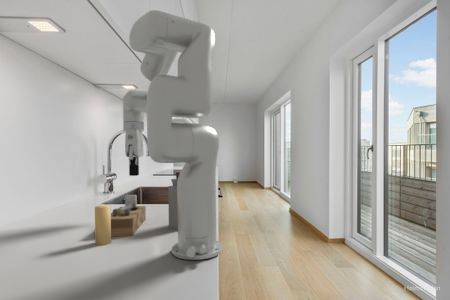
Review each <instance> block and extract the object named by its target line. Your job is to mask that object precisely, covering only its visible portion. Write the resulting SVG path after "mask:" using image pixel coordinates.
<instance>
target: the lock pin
mask: <svg viewBox="0 0 450 300" xmlns="http://www.w3.org/2000/svg"><path fill="white" fill-rule="evenodd" d="M137 198H138V196H137V194H125V195H124V199H125V201H124V202H125V203H124V204H125V205H124V206H121V207H122V208H121V209H120V214H125V209H126V208H130V210H131V209H132V208H136V207H137V206H138V205H137V204H138V203H137V202H138V200H137Z"/></svg>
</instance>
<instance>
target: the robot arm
mask: <svg viewBox="0 0 450 300" xmlns="http://www.w3.org/2000/svg"><path fill="white" fill-rule="evenodd" d="M128 37H129V38H128V41H129V45H130V48H131V50H132V51H134V52H136V53H137V52H139V53H142V54H144V57H143V58H142V62H141V64H140V72H141V74H142V75H143V76H144V78H146V79H147V80H148V81H149V82H150V83H149V86H148V89H147V91H146V90H135V89H130V90H128V91H127V92H126V93H125V95H124V96H123V98H122V117H123V119H122V121H123V122H122V126H123V127H122V129H123V132H125V138H124V139H125V140H124V142H125V143H124V146H125V147H124V148H125V149H124V150H125V151H124V153H125V154H124V155H125V157H127V158H128V163H129V164H128V165H129V166H128V167H129V168H128V169H129V171H128V175H129V176H130V177H132V176H133V177H135V176H139V175H140V169H139V168H140V164H139V163H140V162H139V161H140V158H142V157H144V136H143V132H145V113H146V135H147V136H146V140H147V141H146V143H147V144H146V145H147V151H148V155H149V157H150V159H151V160H152V161H153V162H155V163H159V164H176V163H177V164H179V163H180V164H181V163H183V164H184V165H183V167H182V169H181V170H180V171H179V172H180V174H179V177H178V181H177V205H178V228H177V242H176V243H175V244H173V245H172V247H171V254H172V255H173V257H176V258H179V259H182V260H185V261H186V260H188V261H200V260H207V259H211V258H215V257H217V256H219V255H220V254H222V252H223V250H224V247H223V244H222V242H220V241H218V240H217V198H216V197H217V195H216V192H217V191H216V190H217V189H216V187H217V185H216V184H217V183H216V181H217V180H216V179H217V178H216V175H217V171H216V170H217V160H218V155H219V148H220V138H219V135H218V133H217V131H216V130H215V129H214V128H213V127H211V126H209V125H207V124H204V123H203V124H202V123H195V122H194V123H190V122H173V118H184V119H202V118H205V117H208V116H209V114H210V113H211V111H212V107H213V71H212V70H213V69H212V65H213V63H212V62H213V57H214V52H215V47H216V38H215V37H216V36H215V32H214V30H213V28H212V27H210V26H209V25H207V24H205V23H202V22H199V21H196V20H192V19H189V18H185V17H182V16H179V15H175V14H171V13H168V12H165V11H161V10H155V9H153V10H149V11H147V12H146V13H144V14H143V15H142V16H140V17H139V18H137V20H136V21H135V22H134V23H133V24H132V27H131V29H130V32H129V36H128ZM178 53H181V54H180V55H179V57H178V60H177V76H175V75H171V74H169V75H168V73H169V71H170V69H171V67H172V65H173V63H174V61H175V58H176V57H177V54H178Z"/></svg>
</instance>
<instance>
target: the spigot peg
mask: <svg viewBox="0 0 450 300" xmlns="http://www.w3.org/2000/svg"><path fill="white" fill-rule="evenodd" d="M111 211H112V209H111V205H108V204H105V205H97V206H95V207H94V232H95V233H94V239H95V240H94V242H95V246H105V245H106V246H107V245H109V244H112V236H111V213H112V212H111Z"/></svg>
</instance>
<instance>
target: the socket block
mask: <svg viewBox="0 0 450 300" xmlns="http://www.w3.org/2000/svg"><path fill="white" fill-rule="evenodd" d="M122 207H123V206H120V207H118V208H114V209H112V212H111V237H123V236H124V237H125V236H127V237H128V236H134V235H135V233H136V232H137V231H138V229H139V228H140V227H141V226H142V225H143V223H144V222H145V221H146V219H147V218H146V214H147V213H146V211H147V209H146V208H147V207H146V205H137V207H136V208H132V209H131V210H130V208H126V209H125V214H120V209H121V208H122Z"/></svg>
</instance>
